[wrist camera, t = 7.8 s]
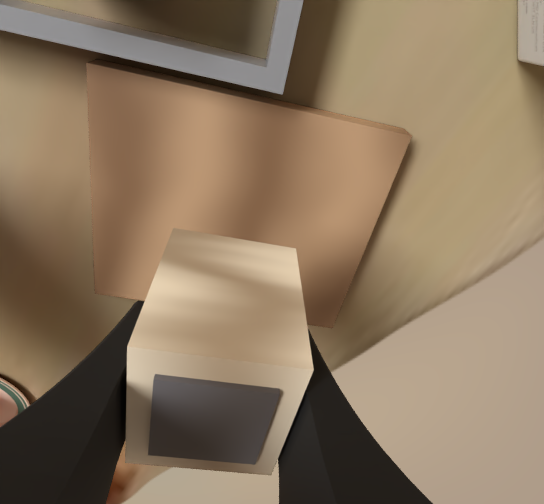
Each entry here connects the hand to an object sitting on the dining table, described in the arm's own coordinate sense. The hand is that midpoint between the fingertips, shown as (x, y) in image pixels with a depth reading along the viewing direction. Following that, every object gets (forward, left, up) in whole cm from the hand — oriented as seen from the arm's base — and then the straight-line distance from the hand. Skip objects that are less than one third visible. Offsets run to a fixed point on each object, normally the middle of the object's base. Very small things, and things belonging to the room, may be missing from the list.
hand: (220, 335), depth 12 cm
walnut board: (0, 0, -9) cm, 9 cm away
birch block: (0, 0, -2) cm, 2 cm away
